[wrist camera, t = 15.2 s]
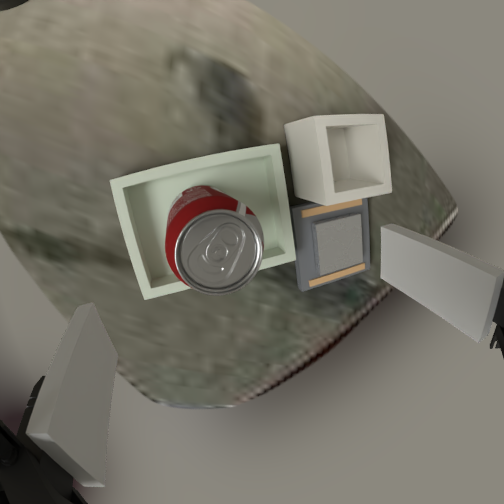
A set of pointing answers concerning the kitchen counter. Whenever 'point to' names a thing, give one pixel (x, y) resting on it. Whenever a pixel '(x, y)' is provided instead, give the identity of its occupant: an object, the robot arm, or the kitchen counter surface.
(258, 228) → the soda can
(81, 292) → the kitchen counter surface
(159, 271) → the trough
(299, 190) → the cup
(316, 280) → the checker cradle
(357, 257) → the platform
